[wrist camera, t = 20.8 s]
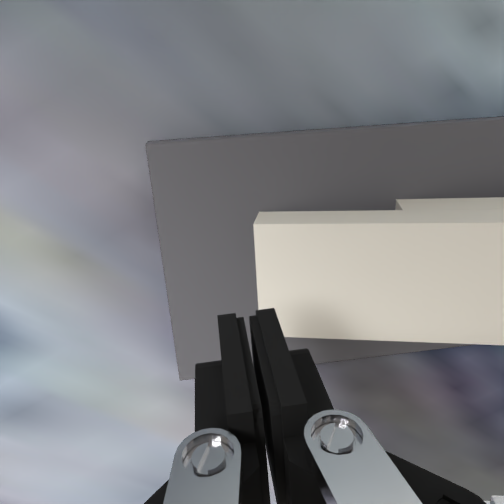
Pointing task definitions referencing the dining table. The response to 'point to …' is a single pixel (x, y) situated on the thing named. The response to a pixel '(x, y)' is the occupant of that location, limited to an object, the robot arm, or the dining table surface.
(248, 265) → the mat
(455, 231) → the domino
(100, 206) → the dining table surface
